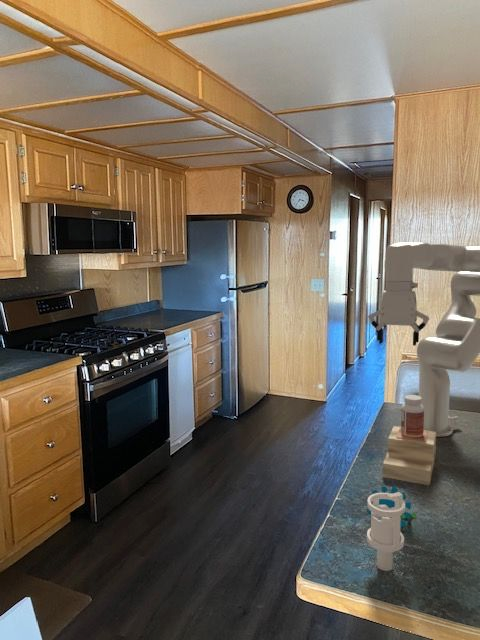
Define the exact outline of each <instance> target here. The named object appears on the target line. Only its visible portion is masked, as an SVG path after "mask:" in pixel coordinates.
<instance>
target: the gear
mask: <svg viewBox="0 0 480 640" xmlns="http://www.w3.org/2000/svg"><path fill="white" fill-rule="evenodd" d="M380 490H381V493H387V491H388V487H387V486H384V485H382V486H381V488H380ZM397 492H399V491H398V488H396V487H395V486H392V487H391V490H390V492H389V494H393V493H397ZM371 493H372V494H375V493H379V492H378V490H377V489H374V490H372V491H371ZM400 493H401V494H403V500H406V499H407V495H406V493H405V492H400ZM372 494H371V495H372ZM366 502H368V498H367V500H366ZM411 503H412V502H410V501H406V502H405V509H407V510H411V507H412V505H411ZM371 504H372V505H373V501H372V502H371ZM379 505H386V506H388V507H389V508H392V507H395V501H392V500H388V499H379ZM366 514H367V515H370V516H371V511H370V510H369V508H368V507H367V508H366ZM389 518H393V517H389ZM400 518H401V522H400V529H401V528H402V529H403V528H406V527H407V523H406V522H408V523H409V524H411V523H412V522H413V520H416V519H417V518H418V517H417V513H415V512H412V513H411V512H407V511H405V512H404V513H402V515H401V516H400Z"/></svg>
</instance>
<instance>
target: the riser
mask: <svg viewBox="0 0 480 640" xmlns="http://www.w3.org/2000/svg"><path fill="white" fill-rule="evenodd" d="M436 443H437V437H436V432H435V431H428V430H424V431H423V435H422V436H421V437H417V438H414V437H407V436H404V435H403V434H402V433H401V426H398V425H397V426H396V425H393V427H392V429H391V432H390V434H389V435H388V441H387V453H386V456H385V458H384V459H383V463H382V478H385V479H392V480H397V481H403V482H408V483H414V484H420V485H425V486H430V485H431V481H432V475H433V470H434V464H435V460H436V449H437V448H436V447H437V445H436Z"/></svg>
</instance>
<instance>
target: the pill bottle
mask: <svg viewBox="0 0 480 640" xmlns="http://www.w3.org/2000/svg"><path fill="white" fill-rule="evenodd" d="M403 399H404V403H403V404H402V405H401V407H400V408H401V409H400V412H401V415H400V427H401V433H402V434H403V435H404V436H407V437H414V438H417V437H421V436H422V435H423V431H424V407H423V405H421V402H422V398H421V397H420V396H419V395H417V394H416V395H415V394H407V395H405V396H404V398H403Z"/></svg>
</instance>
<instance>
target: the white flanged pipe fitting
mask: <svg viewBox="0 0 480 640" xmlns="http://www.w3.org/2000/svg"><path fill="white" fill-rule="evenodd" d="M401 493H402V492H399V491H398V492H397V493H393V494H390V492H389V493H388V492H385V493H382V492H378V493H375V494H370V495H369V496H368V498H367V499H368V502H367V501H366V502H367V503H366V504H367V508H369V510H370V511H371V514H370V528H368V529H367V531H366V542H367V544H369V545H370V546H371V547H372V548H373V549H375V550H376V567H377V569H379V570H381V571H385V572H389V571H392V570H393V569H394V568H393V566H394V565H393V564H394V563H393V562H394V561H393V560H394V558H393V557H394V552H398V551H400V550H402V549H403V547H404V545H405V536H404V535H403V533H402V531H401V527H400V522H401V518H400V516H401V515H402V513H404V512H406V507H405V503H406V501H404V499H403V494H401ZM379 499H388V500H392V501H395V507H392V508H389V507H388V506H386V505H379ZM372 501H373V505H372V504H371V502H372ZM389 517H393V518H389Z"/></svg>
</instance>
